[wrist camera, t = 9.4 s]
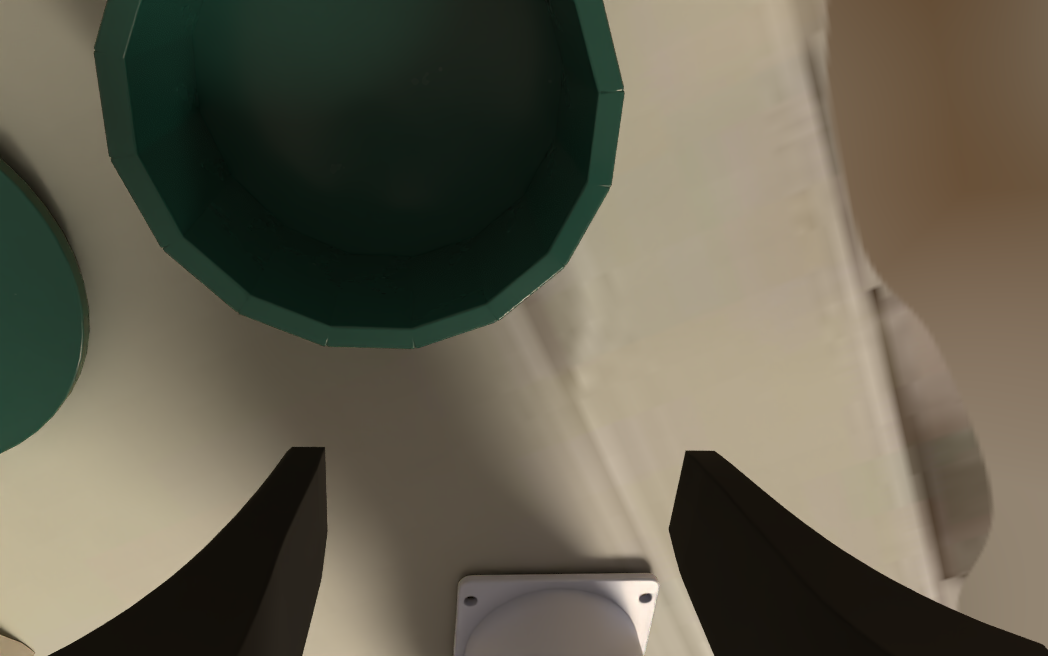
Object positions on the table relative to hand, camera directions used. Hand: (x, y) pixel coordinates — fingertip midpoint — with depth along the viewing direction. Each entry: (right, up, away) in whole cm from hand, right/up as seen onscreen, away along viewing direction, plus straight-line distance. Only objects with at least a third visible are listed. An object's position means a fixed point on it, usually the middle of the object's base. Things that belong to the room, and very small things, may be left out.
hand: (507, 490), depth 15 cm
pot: (-4, +10, +6) cm, 12 cm away
